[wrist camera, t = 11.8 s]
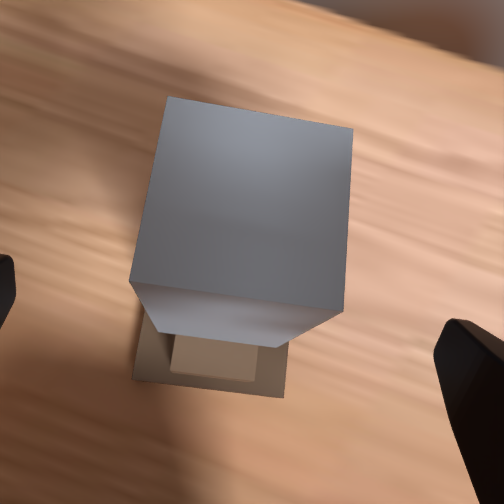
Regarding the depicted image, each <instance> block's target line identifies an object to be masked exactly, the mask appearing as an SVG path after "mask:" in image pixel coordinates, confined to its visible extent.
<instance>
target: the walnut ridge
mask: <svg viewBox="0 0 504 504" xmlns="http://www.w3.org/2000/svg"><path fill="white" fill-rule="evenodd" d="M288 345H289V341H288V342H286V343H284V344H282V345H281V346H279V347H277V348H274V347H266V346H259V345H251V344H244V343H236V342H229V341H222V340H214V339H207V338H199V337H192V336H184V335H177V334H169V333H162V332H158V331H157V329H156V327H155V326H154V324H153V322H152V320H151V319H150V317H149V315H148V313H147V312H146V310H145V312H144V318H143V323H142V328H141V333H140V338H139V343H138V349H137V354H136V359H135V364H134V369H133V374H132V380H138V381H146V382H154V383H162V384H170V385H178V386H186V387H194V388H202V389H211V390H219V391H227V392H235V393H243V394H251V395H259V396H267V397H275V398H284V389H285V378H286V367H287V356H288Z"/></svg>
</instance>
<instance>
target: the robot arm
mask: <svg viewBox="0 0 504 504" xmlns="http://www.w3.org/2000/svg"><path fill="white" fill-rule="evenodd" d="M15 297H16V283H15V271H14V262H13V259H12V258H11V257H10V256H9V255H5V254H0V329H1V327H2V325H3V323H4V321H5V319H6V317H7V315H8V313H9V311H10V309H11V307H12V305H13V303H14V301H15ZM433 357H434V363H435V367H436V371H437V375H438V379H439V383H440V387H441V391H442V395H443V399H444V403H445V407H446V410H447V414H448V418H449V421H450V424H451V427H452V430H453V433H454V436H455V439H456V441H457V444H458V447H459V450H460V452H461V455H462V458H463V460H464V463H465V466H466V469H467V471H468V474H469V477H470V479H471V482H472V485H473V487H474V490H475V493H476V496H477V498H478V501H479V504H504V341H502V340H501V339H499V338H497V337H496V336H494V335H492V334H491V333H489V332H487V331H486V330H484V329H483V328H481V327H479V326H478V325H476V324H474V323H473V322H471V321H468V320H462V319H455V318H452V319H450V320H448V321H447V322H446V324H445V326H444V328H443V330H442V333H441V335H440V337H439V339H438V341H437V344H436V346H435V348H434V354H433Z"/></svg>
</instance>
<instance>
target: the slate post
mask: <svg viewBox="0 0 504 504" xmlns="http://www.w3.org/2000/svg"><path fill="white" fill-rule="evenodd" d="M352 144H353V129H351V128H345V127H340V126H334V125H329V124H323V123H317V122H312V121H306V120H300V119H295V118H289V117H284V116H278V115H272V114H267V113H261V112H256V111H250V110H244V109H239V108H233V107H227V106H222V105H216V104H211V103H205V102H199V101H194V100H188V99H182V98H177V97H171V96H167V101H166V106H165V111H164V115H163V120H162V125H161V130H160V135H159V139H158V144H157V149H156V154H155V158H154V163H153V168H152V173H151V177H150V182H149V187H148V192H147V196H146V201H145V206H144V211H143V215H142V220H141V225H140V230H139V234H138V239H137V244H136V249H135V253H134V258H133V263H132V268H131V273H130V277H129V282H130V284H131V286H132V287H133V289H134V291H135V293H136V294H137V296H138V298H139V300H140V301H141V303H142V305H143V307H144V308H145V310H146V312H147V313H148V315H149V317H150V319H151V320H152V322H153V324H154V326H155V327H156V329H157V331H158V332H162V333H169V334H177V335H184V336H192V337H199V338H207V339H214V340H222V341H229V342H236V343H244V344H251V345H259V346H266V347H274V348H277V347H279V346H281V345H282V344H284V343H286V342H288V341H290V340H292V339H293V338H295V337H297V336H299V335H301V334H303V333H305V332H306V331H308V330H310V329H312V328H314V327H316V326H318V325H319V324H321V323H323V322H325V321H327V320H329V319H331V318H332V317H334V316H336V315H338V314H340V313H342V312H343V309H344V291H345V273H346V254H347V236H348V217H349V199H350V181H351V162H352Z"/></svg>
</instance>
